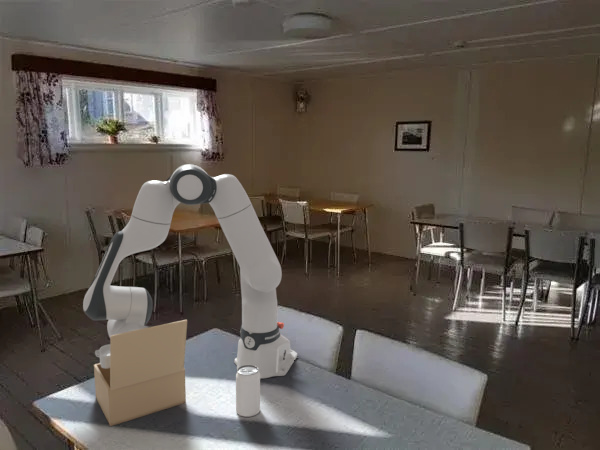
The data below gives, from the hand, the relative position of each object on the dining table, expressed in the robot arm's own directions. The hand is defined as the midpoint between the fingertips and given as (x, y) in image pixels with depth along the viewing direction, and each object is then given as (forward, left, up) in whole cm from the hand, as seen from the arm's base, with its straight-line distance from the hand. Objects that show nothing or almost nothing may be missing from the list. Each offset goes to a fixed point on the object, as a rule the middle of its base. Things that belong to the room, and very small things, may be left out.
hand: (147, 361), depth 121 cm
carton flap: (0, +1, +2) cm, 3 cm away
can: (-15, +21, -16) cm, 30 cm away
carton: (-5, -8, -15) cm, 18 cm away
